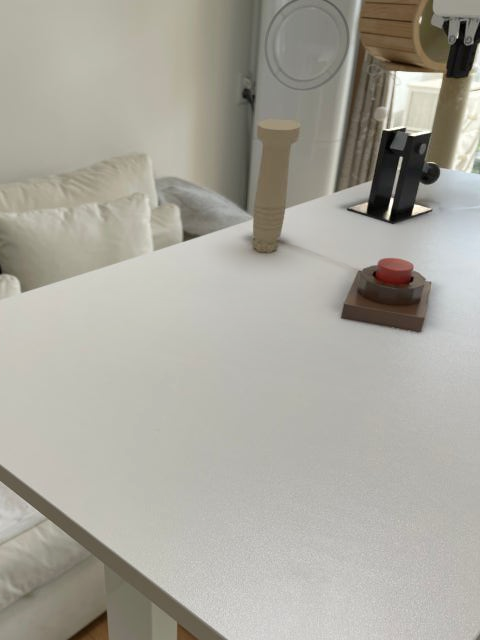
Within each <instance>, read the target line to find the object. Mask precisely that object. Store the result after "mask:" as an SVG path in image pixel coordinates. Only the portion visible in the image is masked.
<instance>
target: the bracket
mask: <svg viewBox="0 0 480 640" xmlns="http://www.w3.org/2000/svg"><path fill="white" fill-rule="evenodd" d="M397 131H400V132H405V133H407V132H406V131H407V127H406V126H396V127H391V128H386V129H382V131H381V134H380V135H381V136H380V141H379V146H378V150H377V155H376V161H375V164H374V165H375V166H374V171H373V176H372V181H371V186H370V192H369V196H368V201H366V202H364V203H360V204H357V205H353V206H350V207H347V208H346V211H348V212H352V213H354V214H358V215H361V216H365V217H368V218H371V219H374V220H378V221H381V222H385V223H387V224H391V225H395V224H399V223H401V222H404V221H408V220H411V219H413V218H417V217H419V216H422V215H425V214H429V213H431V212H433V208H430V207H427V206H423V205H420V204H415V203H416V199H417V197H418V196H417V195H418V192H419V187H420V183H421V182H420V179H421V175H422V171H423V167H424V162H426V159H427V154H428V150H429V146H430V141H431V137H432V132H431V131H426V130H425V131H420V132H415V133H411V135H408V136H407V140H406V145H405V149H404V154H403V157H400V156H397V155H396V154H395V153H394V152H393V151H392V150H391V149H390V146H391V144H392V142H393V140H394V138H395V135H396V133H397ZM401 158H402V159H401ZM400 159H401V163H400ZM399 163H400V167H399ZM398 168H399V171H398ZM397 174H398V178H397V182H396V177H397ZM395 182H396V187H395ZM394 187H395V191H394ZM393 191H394V194H393ZM392 195H393V197H392Z"/></svg>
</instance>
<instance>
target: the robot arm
mask: <svg viewBox="0 0 480 640" xmlns="http://www.w3.org/2000/svg"><path fill="white" fill-rule="evenodd" d="M432 12H433V14H432V17H431V19H430V24H431V26H434V27H437V28H439V29H441V30H443V31H444V34H445V35H446V37H447V43H448V44H449V45H450V47H449V52H448V56H447V61H446V66H445V69H446V72H445V73H446V74H445V78H447V79H455V80H459V79H465V78H468V77H469V75H470V72H471V71H472V69H473V65H474V61H475V58H476V54H477V49H478V45H480V0H432Z"/></svg>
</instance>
